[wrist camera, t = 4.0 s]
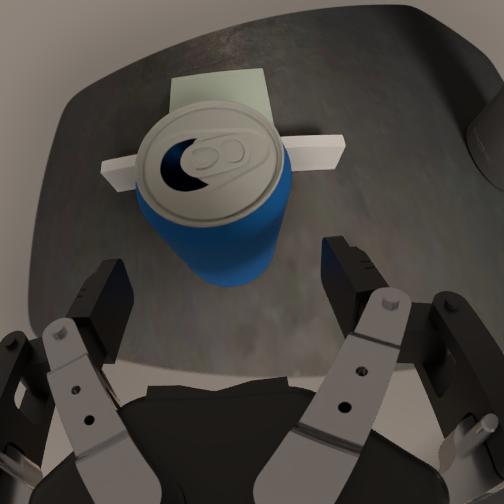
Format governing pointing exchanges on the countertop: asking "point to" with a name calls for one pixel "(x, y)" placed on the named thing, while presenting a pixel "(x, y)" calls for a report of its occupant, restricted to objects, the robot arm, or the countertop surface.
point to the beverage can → (215, 188)
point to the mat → (223, 89)
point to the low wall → (298, 147)
